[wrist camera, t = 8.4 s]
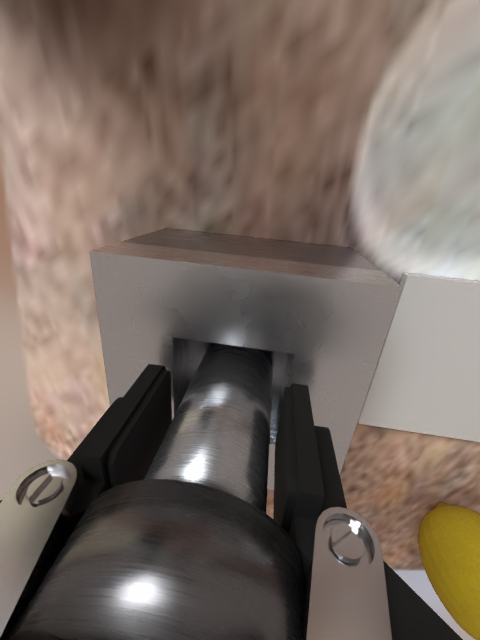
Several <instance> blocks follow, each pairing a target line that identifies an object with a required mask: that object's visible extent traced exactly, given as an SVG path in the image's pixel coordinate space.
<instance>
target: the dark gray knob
mask: <svg viewBox="0 0 480 640" xmlns="http://www.w3.org/2000/svg"><path fill="white" fill-rule="evenodd" d="M272 383H273V369H272V365H271V363H270V361H269V359H268V357H267V356H266V355H265V354H264V353H263V352H262V351H261V350H260V349H255V348H248V347H240V346H233V345H226V344H218V343H217V344H215V345H214V346H212V347H211V348H210V349H208V351H207V352H206V353H205V355H204V356H203V358H202V360H201V362H200V364H199V366H198V368H197V371H196V373H195V375H194V377H193V379H192V381H191V383H190V385H189V387H188V389H187V391H186V393H185V395H184V397H183V399H182V402H181V404H180V406H179V408H178V410H177V412H176V414H175V416H174V418H173V420H172V422H171V424H170V426H169V428H168V430H167V433H166V435H165V437H164V439H163V441H162V443H161V445H160V447H159V449H158V451H157V453H156V455H155V457H154V459H153V461H152V464H151V466H150V468H149V470H148V472H147V474H146V476H145V478H144V480H138V481H132V482H127V483H123V484H120V485H117V486H114V487H112V488H110V489H108V490H106V491H104V492H103V493H101V494H100V495H99V496H97V497H96V498H95V499H94V500H93V501H92V502H91V503H90V505H89V507H88V508H87V510H86V511H85V513H84V515H83V516H82V518H81V519H80V521H79V523H78V524H77V526H76V528H75V529H74V531H73V532H72V534H71V536H70V537H69V539H68V540H67V542H66V544H65V545H64V547H63V548H62V550H61V552H60V553H59V555H58V557H57V558H56V560H55V561H54V563H53V565H52V566H51V568H50V569H49V571H48V573H47V574H46V576H45V578H44V579H43V581H42V582H41V584H40V586H39V587H38V589H37V590H36V592H35V594H34V595H33V597H32V599H31V600H30V602H29V603H28V605H27V607H26V608H25V610H24V611H23V613H22V615H21V616H20V618H19V620H18V621H17V623H16V624H15V626H14V628H13V629H12V631H11V632H10V634H9V636H8V638H7V639H6V640H303V625H304V615H305V605H304V586H303V569H302V560H301V557H300V553H299V551H298V549H297V547H296V545H295V543H294V542H293V540H292V539H291V538H290V536H289V535H288V533H287V532H286V531H285V530H284V529H283V528H282V527H281V526H280V525H279V524H278V523H277V522H276V521H274V520H273V519H272V518H271V517H269V516H268V515H267V514H266V502H267V482H268V462H269V442H270V422H271V402H272Z"/></svg>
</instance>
